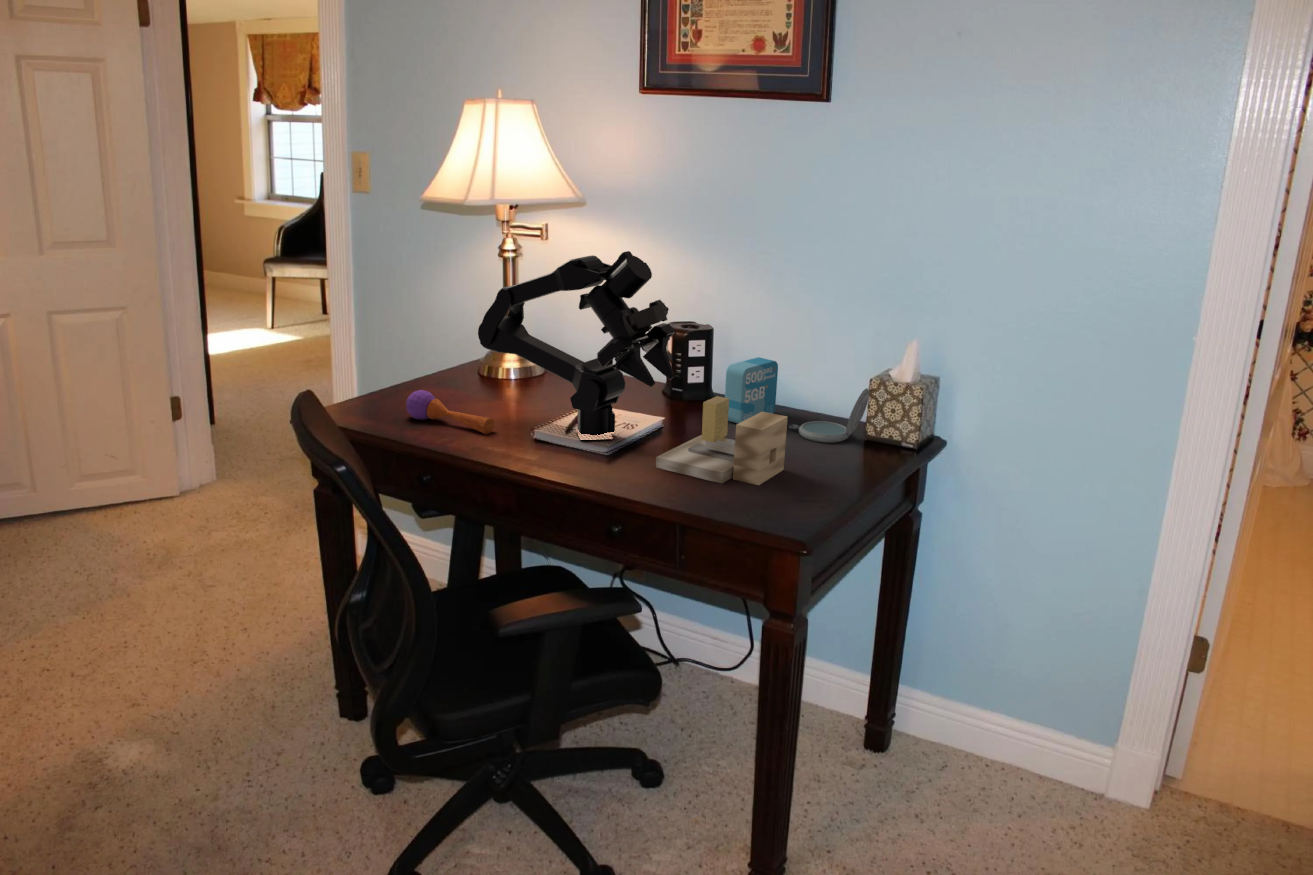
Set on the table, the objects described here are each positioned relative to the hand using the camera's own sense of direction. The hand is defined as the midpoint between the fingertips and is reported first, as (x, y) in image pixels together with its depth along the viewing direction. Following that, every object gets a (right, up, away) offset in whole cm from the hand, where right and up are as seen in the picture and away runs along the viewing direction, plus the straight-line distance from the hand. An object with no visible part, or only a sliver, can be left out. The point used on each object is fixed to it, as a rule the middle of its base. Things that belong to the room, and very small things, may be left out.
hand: (663, 381), depth 195 cm
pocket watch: (+32, -10, +17) cm, 38 cm away
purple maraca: (-42, -8, +16) cm, 46 cm away
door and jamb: (+11, -15, -3) cm, 19 cm away
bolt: (+11, -13, -4) cm, 17 cm away
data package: (+18, -6, +27) cm, 33 cm away
